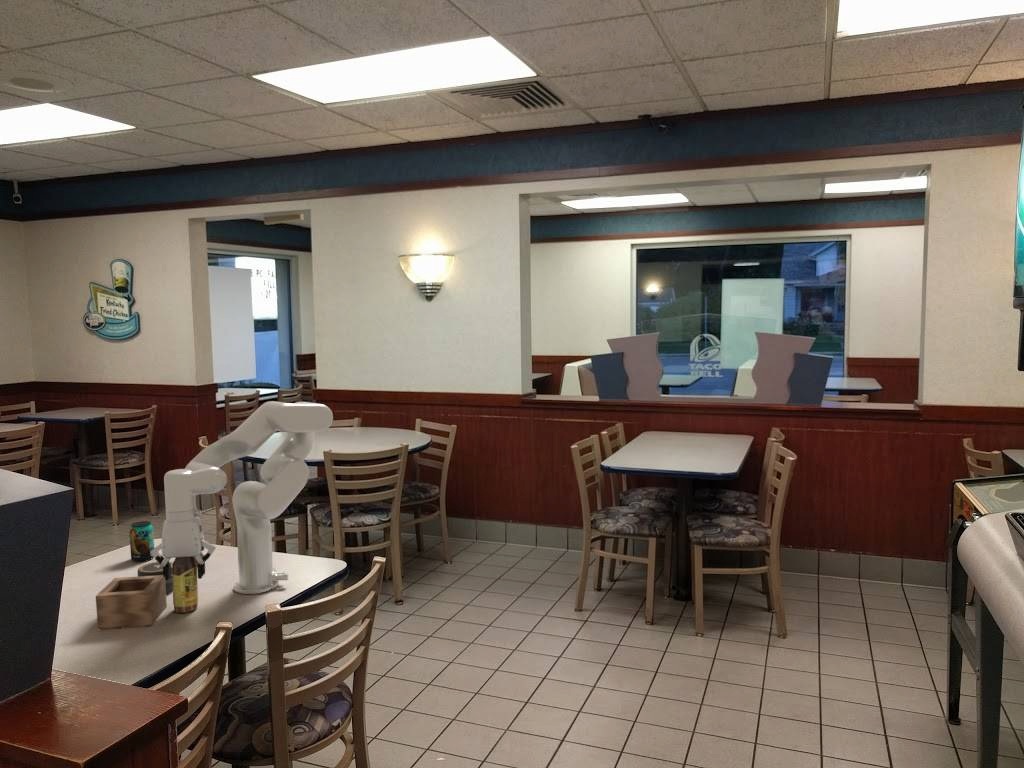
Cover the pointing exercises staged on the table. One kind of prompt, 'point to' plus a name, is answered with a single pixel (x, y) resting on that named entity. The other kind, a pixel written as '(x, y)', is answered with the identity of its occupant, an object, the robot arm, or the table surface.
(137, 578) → the walnut box
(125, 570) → the table surface
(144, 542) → the beverage can
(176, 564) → the sauce bottle
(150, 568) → the jar
